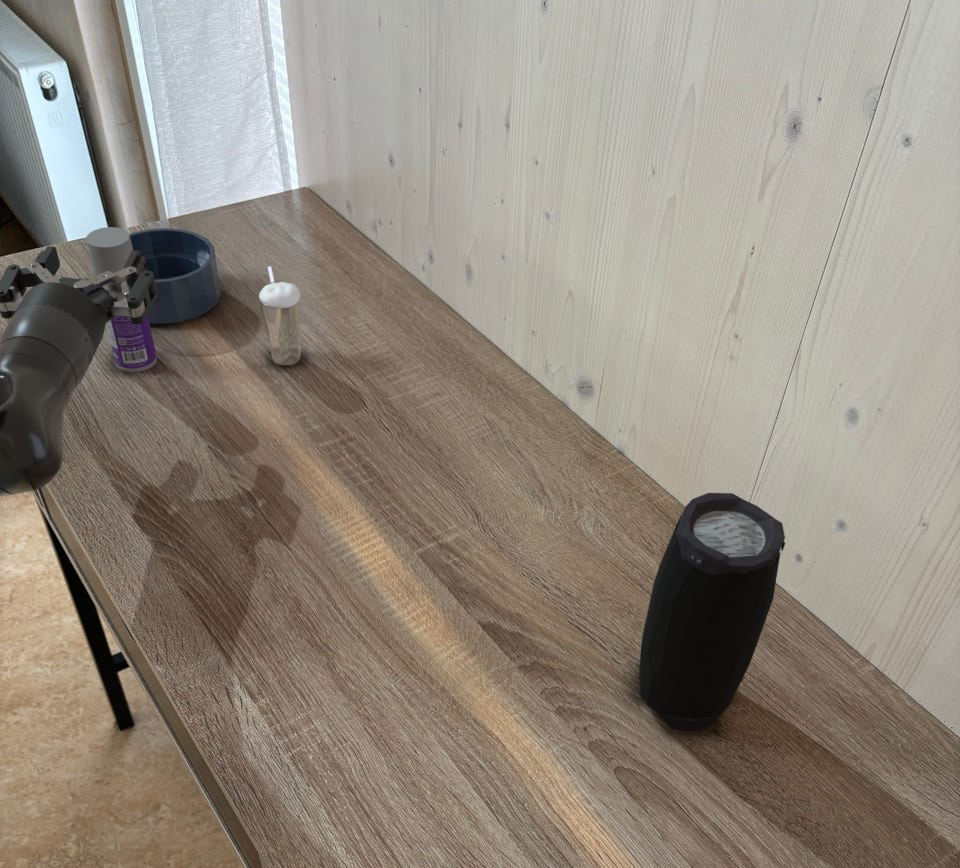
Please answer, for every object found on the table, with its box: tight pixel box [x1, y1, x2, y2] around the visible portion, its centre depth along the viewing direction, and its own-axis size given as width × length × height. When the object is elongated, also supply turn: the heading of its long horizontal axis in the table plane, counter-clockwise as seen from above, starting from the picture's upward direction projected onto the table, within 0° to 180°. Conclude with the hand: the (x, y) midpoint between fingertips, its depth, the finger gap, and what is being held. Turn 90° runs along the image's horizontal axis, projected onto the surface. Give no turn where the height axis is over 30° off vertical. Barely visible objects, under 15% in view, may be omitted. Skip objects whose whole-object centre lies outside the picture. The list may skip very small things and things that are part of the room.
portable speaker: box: [638, 492, 786, 732], centre depth 83 cm, size 9×9×20 cm
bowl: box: [129, 227, 222, 325], centre depth 128 cm, size 13×13×6 cm
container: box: [85, 226, 158, 373], centre depth 116 cm, size 5×5×15 cm
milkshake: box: [258, 265, 302, 367], centre depth 119 cm, size 4×5×10 cm
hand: (96, 256), depth 107 cm, fingers open, 8 cm apart
